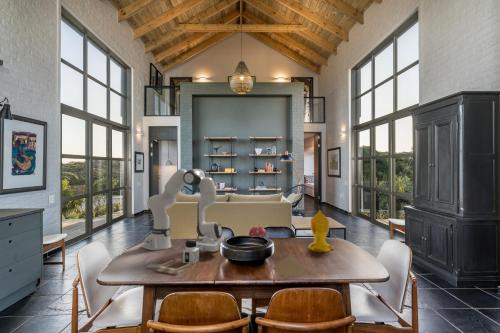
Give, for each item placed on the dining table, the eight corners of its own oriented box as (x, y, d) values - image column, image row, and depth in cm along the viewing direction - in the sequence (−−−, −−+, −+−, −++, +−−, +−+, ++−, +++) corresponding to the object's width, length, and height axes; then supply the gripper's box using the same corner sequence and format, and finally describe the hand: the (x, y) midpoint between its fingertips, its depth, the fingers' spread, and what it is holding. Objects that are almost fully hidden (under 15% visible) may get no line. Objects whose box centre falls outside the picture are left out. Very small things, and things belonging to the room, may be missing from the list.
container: (194, 264, 173) (194, 242, 174) (182, 263, 175) (182, 241, 175) (199, 260, 181) (199, 239, 181) (187, 259, 182) (187, 238, 183)
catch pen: (156, 270, 161) (156, 266, 161) (172, 264, 173) (172, 260, 173) (176, 274, 155) (176, 270, 155) (191, 267, 167) (191, 263, 167)
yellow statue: (332, 245, 219) (332, 208, 219) (333, 254, 195) (333, 212, 196) (309, 243, 223) (309, 207, 224) (307, 252, 200) (307, 211, 200)
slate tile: (146, 269, 165) (146, 266, 165) (151, 266, 171) (151, 263, 171) (155, 270, 164) (155, 267, 164) (161, 266, 169) (161, 264, 169)
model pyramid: (295, 265, 173) (295, 248, 174) (311, 274, 157) (311, 256, 158) (270, 268, 167) (270, 251, 167) (285, 278, 151) (285, 259, 151)
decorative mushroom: (257, 242, 226) (257, 223, 226) (270, 245, 217) (270, 225, 217) (245, 245, 216) (245, 225, 217) (258, 249, 207) (258, 228, 207)
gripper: (195, 237, 200) (183, 242, 187) (221, 241, 191) (209, 245, 179) (195, 246, 200) (183, 251, 187) (220, 250, 191) (209, 255, 179)
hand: (196, 248), depth 183 cm, fingers closed
